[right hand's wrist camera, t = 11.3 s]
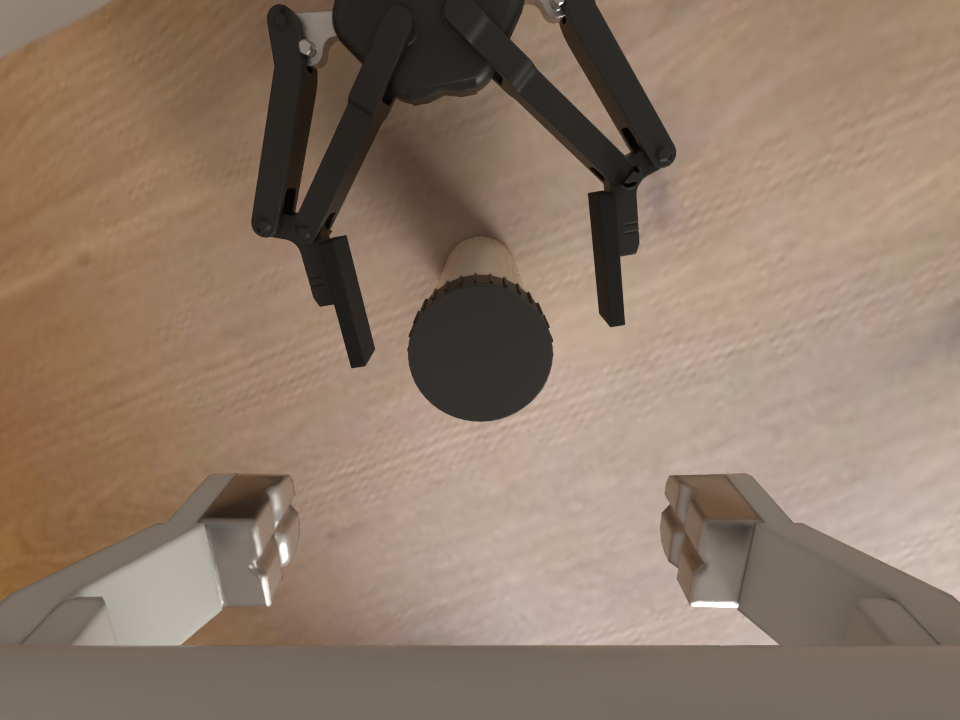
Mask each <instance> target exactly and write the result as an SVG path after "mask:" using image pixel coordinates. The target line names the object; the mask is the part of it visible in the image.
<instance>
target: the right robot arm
mask: <svg viewBox="0 0 960 720" xmlns="http://www.w3.org/2000/svg"><path fill="white" fill-rule="evenodd" d="M294 496H295V488H294V483H293V479H292V478H291V477H290V475H278V474H237V473H230V474H212V475H209V476H208V477H207V478H206V479H205V480H204V481H203V482H202V484H201V485H200V486H199V487H198V488H197V489H196V490H195V491H194V493H193V494H192V495H191V496H190V497H189V498H188V499H187V500H186V501H185V503H184V504H183V505H182V506H181V507H180V508H179V509H178V510H177V512H176V513H175V514H174V515H173V516H172V517H171V518H170V519H169V521H168V522H167V523H157V524H155V525H153V526H151V527H149V528H147V529H145V530H143V531H140V532H138V533H136V534H134V535H132V536H130V537H128V538H126V539H124V540H122V541H120V542H118V543H116V544H113V545H111V546H109V547H107V548H105V549H103V550H101V551H99V552H97V553H95V554H93V555H91V556H88V557H86V558H84V559H82V560H80V561H78V562H76V563H74V564H72V565H70V566H68V567H66V568H64V569H61V570H59V571H57V572H55V573H53V574H51V575H49V576H47V577H45V578H43V579H41V580H39V581H36V582H34V583H32V584H30V585H28V586H26V587H24V588H22V589H20V590H18V591H16V592H14V593H12V594H9V595H8V596H7V597H6V598H5V599H4V600H3V601H2V602H0V720H960V602H959V601H958V600H957V599H956V598H954V597H953V596H952V595H950V594H948V593H946V592H944V591H942V590H940V589H938V588H936V587H934V586H931V585H929V584H927V583H925V582H923V581H921V580H919V579H917V578H915V577H913V576H911V575H909V574H907V573H904V572H902V571H900V570H898V569H896V568H894V567H892V566H890V565H888V564H886V563H884V562H882V561H880V560H878V559H875V558H873V557H871V556H869V555H867V554H865V553H863V552H861V551H859V550H857V549H855V548H853V547H851V546H849V545H846V544H844V543H842V542H840V541H838V540H836V539H834V538H832V537H830V536H828V535H826V534H824V533H822V532H819V531H817V530H815V529H813V528H811V527H809V526H807V525H805V524H803V523H793V522H792V521H791V519H790V518H789V517H788V516H787V515H786V514H785V513H784V512H783V510H782V509H781V508H780V507H779V506H778V505H777V504H776V503H775V501H774V500H773V499H772V498H771V497H770V496H769V495H768V494H767V493H766V491H765V490H764V489H763V488H762V487H761V486H760V485H759V484H758V482H757V481H756V480H755V479H754V478H753V477H752V476H751V475H749V474H746V473H737V474H712V475H673V476H669V477H668V480H667V482H666V488H665V496H666V497H667V499H668V501H669V503H670V505H669V506H668V507H667V508H666V509H665V510H664V511H663V512H662V516H661V525H660V530H661V542H662V545H663V549H664V552H665V555H666V557H667V559H668V561H669V562H670V563H672V564H673V565H674V566H676V567H677V568H678V575H677V580H678V582H679V584H680V586H681V588H682V590H683V592H684V594H685V596H686V598H687V600H688V602H689V604H690V606H708V607H738V609H737V610H739V611H740V612H741V613H742V614H743V615H745V616H746V617H747V618H748V619H749V620H751V621H752V622H753V623H754V624H755V625H757V626H758V627H759V628H760V629H761V630H763V631H764V632H765V633H766V634H767V635H769V636H770V637H771V638H772V639H773V640H775V641H776V642H777V643H778V644H779V645H181V644H182V643H183V642H184V641H186V640H187V639H188V638H189V637H190V636H192V635H193V634H194V633H195V632H196V631H198V630H199V629H200V628H201V627H202V626H204V625H205V624H206V623H207V622H208V621H210V620H211V619H212V618H213V617H214V616H216V615H217V614H218V613H219V612H220V611H222V607H251V606H270V605H271V602H272V600H273V598H274V596H275V594H276V592H277V590H278V588H279V586H280V584H281V582H282V580H283V575H282V568H283V567H284V566H286V565H287V564H288V563H290V562H291V561H292V559H293V557H294V554H295V552H296V549H297V545H298V540H299V528H300V523H299V515H298V512H297V511H296V510H295V509H294V508H293V507H292V506H291V505H290V503H291V501H292V499H293V497H294Z"/></svg>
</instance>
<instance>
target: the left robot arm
mask: <svg viewBox="0 0 960 720" xmlns="http://www.w3.org/2000/svg"><path fill="white" fill-rule="evenodd" d="M527 4H531V5H534V6H536V7H537V8H538V9H539V10H540V11H541V13H542V15H543V17H544V19H545V20H546V21H548V22H550V23H558V22H559V24H560V27H561V30H562V33H563V35H564V38H565V40H566V42H567V44H568V45H569V47H570V49H571V51H572V52H573V54H574V56H575V58H576V59H577V61H578V63H579V64H580V66H581V68H582V69H583V71H584V73H585V75H586V76H587V78H588V80H589V81H590V83H591V85H592V87H593V88H594V90H595V92H596V93H597V95H598V97H599V99H600V100H601V102H602V104H603V105H604V107H605V109H606V110H607V112H608V114H609V116H610V117H611V119H612V121H613V122H614V124H615V126H616V128H617V129H618V131H619V133H620V134H621V136H622V138H623V140H624V141H625V143H626V145H627V146H628V148H629V150H630V151H631V152H630V153H629V154H627V155H625V156H624V155H623V154H622V153H621V152H620V151H619V150H618V149H617V148H616V147H615V146H614V145H613V144H612V143H611V142H610V141H609V140H608V139H607V138H606V137H605V136H604V135H603V134H602V133H601V132H600V131H599V130H598V129H597V128H596V127H595V126H594V125H593V124H592V123H591V122H590V121H589V120H588V119H587V118H586V117H585V116H584V115H583V114H582V113H581V112H580V111H579V110H578V109H577V108H576V107H575V106H574V105H573V104H572V103H571V102H570V101H569V100H568V99H567V98H566V97H565V96H564V95H563V94H562V93H561V92H560V91H559V90H557V89H556V88H555V87H554V86H553V85H552V84H551V83H550V82H549V81H548V80H547V79H546V78H545V77H544V76H543V75H542V74H541V73H540V72H539V71H538V70H537V69H536V67H535V66H534V64H533V63H532V61H531V60H530V59H529V58H528V57H527V56H526V55H525V54H524V53H523V52H522V51H521V50H520V49H519V48H518V47H517V46H516V45H515V44H514V43H513V42H512V41H511V40H510V37H511V35H512V33H513V31H514V28H515V26H516V24H517V22H518V20H519V17H520V15H521V13H522V10H523V6H524V5H527ZM267 23H268V29H269V35H270V41H271V47H272V53H273V59H274V65H275V67H274V74H273V81H272V87H271V94H270V101H269V107H268V114H267V121H266V127H265V134H264V141H263V147H262V154H261V161H260V167H259V174H258V181H257V187H256V194H255V201H254V207H253V214H252V221H251V222H252V228H253V230H254V232H255V233H256V234H257V235H259V236H261V237H275V238H280V239H286V240H289V241H291V242H293V243H294V244H296V245H297V247H298V248H299V250H300V252H301V255H302V259H303V262H304V266H305V269H306V273H307V276H308V279H309V283H310V286H311V291H312V294H313V298H314V299H315V301H316V302H317V303H318V305H319V306H320V307H321V306H327V305H333V304H334V306H335V309H336V313H337V317H338V320H339V324H340V328H341V332H342V335H343V339H344V343H345V346H346V350H347V354H348V357H349V361H350V365H351V368H357V367H363V366H366V364H367V362H368V361H369V359H370V357H371V356H372V354H373V352H374V350H375V347H374V343H373V339H372V335H371V331H370V327H369V323H368V319H367V315H366V311H365V307H364V303H363V299H362V295H361V291H360V287H359V283H358V279H357V275H356V271H355V267H354V263H353V259H352V255H351V251H350V247H349V243H348V239H347V235H345V236H339V237H333V238H331V239H330V237H329V235H330V234H331V232H332V231H331V230H330V229H331V227H332V225H333V223H334V221H335V219H336V217H337V215H338V213H339V211H340V209H341V206H342V204H343V202H344V200H345V198H346V196H347V194H348V192H349V190H350V188H351V186H352V184H353V182H354V180H355V177H356V175H357V173H358V171H359V169H360V167H361V165H362V163H363V161H364V159H365V157H366V155H367V153H368V151H369V149H370V146H371V144H372V142H373V140H374V138H375V136H376V134H377V132H378V130H379V128H380V126H381V124H382V122H383V121H384V120H385V119H386V117H387V116H388V114H389V112H390V110H391V108H392V105H393V103H394V101H395V99H396V98H397V99H399V100H400V101H403V102H405V103H410V104H413V105H414V106H416V105H421V104H426V103H430V102H432V101H434V100H436V99H438V98H440V97H442V96H444V95H449V96H458V97H464V96H469V95H474V94H477V92H478V91H479V90H481V89H483V88H484V87H485V86H486V85H487V84H488V83H489V82H490V80H491V79H493V80H494V81H495V82H496V83H497V84H498V85H499V86H500V87H501V88H502V89H503V90H504V91H505V92H506V93H507V94H509V95H510V96H511V97H513V98H514V99H515V100H517V101H518V102H519V103H520V104H521V105H522V106H523V107H524V108H525V109H526V110H527V111H528V112H529V113H530V114H531V115H532V116H533V117H534V118H535V119H536V120H538V121H539V122H540V123H541V124H542V125H543V126H544V127H545V128H546V129H547V130H548V131H549V132H550V133H551V134H552V135H553V136H554V137H555V138H556V139H557V140H558V141H559V142H561V143H562V144H563V145H564V146H565V147H566V148H567V149H568V150H569V151H570V152H571V153H572V154H573V155H574V156H575V157H576V158H577V159H578V160H579V161H580V162H581V163H583V164H584V165H585V166H586V167H587V168H588V169H589V170H590V171H591V172H592V173H593V174H594V175H595V176H596V177H597V178H598V179H599V180H600V181H601V182H602V183H603V184H604V191H597V192H592V193H588V199H589V209H590V220H591V231H592V242H593V253H594V263H595V274H596V285H597V296H598V306H599V314H600V315H601V316H602V318H603V319H604V320H605V321H606V322H607V324H608V325H609V326H610V327H615V326H621V325H625V317H624V304H623V291H622V278H621V265H620V256H626V255H632V254H636V252H637V249H638V246H639V232H638V230H639V229H638V213H637V197H636V192H637V187H638V185H639V184H640V182H641V181H642V180H643V179H644V178H645V177H646V176H648V175H650V174H652V173H654V172H655V171H657V170H659V169H661V168H665V167H667V166H669V165H670V164H671V163H672V162H673V161H674V159H675V157H676V149H675V146H674V144H673V142H672V140H671V138H670V137H669V135H668V133H667V131H666V129H665V128H664V126H663V124H662V122H661V120H660V119H659V117H658V115H657V113H656V111H655V110H654V108H653V106H652V104H651V102H650V101H649V99H648V97H647V95H646V94H645V92H644V90H643V88H642V86H641V85H640V83H639V81H638V79H637V77H636V76H635V74H634V72H633V70H632V68H631V67H630V65H629V63H628V61H627V59H626V58H625V56H624V54H623V52H622V50H621V49H620V47H619V45H618V43H617V41H616V40H615V38H614V36H613V34H612V32H611V31H610V29H609V27H608V25H607V23H606V22H605V20H604V18H603V16H602V14H601V13H600V11H599V9H598V7H597V5H596V4H595V0H335V3H334V7H333V10H331V11H315V12H299V13H296V12H293V11H292V10H291V9H289V8H288V7H286V6H285V5H280V4H278V5H275V6H273V7H272V8H271V9H270V10H269V12H268V15H267ZM338 41H340V42H341V43H342V44H343V45H344V46H345V47H346V48H347V49H348V50H349V51H350V52H351V53H352V54H353V55H354V56H355V57H356V58H357V59H358V60H359V61H360V62H361V63H362V67H361V70H360V72H359V74H358V76H357V78H356V81H355V83H354V85H353V87H352V89H351V92H350V95H349V99H348V105H347V108H346V110H345V112H344V114H343V116H342V118H341V121H340V123H339V125H338V127H337V129H336V132H335V134H334V136H333V138H332V140H331V142H330V145H329V147H328V149H327V151H326V153H325V156H324V158H323V160H322V162H321V164H320V167H319V169H318V171H317V173H316V175H315V177H314V180H313V182H312V184H311V186H310V188H309V191H308V193H307V195H306V197H305V199H304V201H303V204H302V206H301V208H300V210H299V212H298V213H297V212H295V210H296V205H297V199H298V193H299V188H300V182H301V176H302V171H303V165H304V159H305V154H306V148H307V142H308V137H309V131H310V125H311V120H312V114H313V108H314V103H315V97H316V90H317V69H320V68H322V67H324V66H325V65H326V63H327V61H328V55H329V50H330V47H331V46H332V45H333V44H334V43H335V42H338Z"/></svg>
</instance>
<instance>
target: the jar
mask: <svg viewBox="0 0 960 720" xmlns="http://www.w3.org/2000/svg"><path fill="white" fill-rule="evenodd" d="M474 273H477V275H479V274H480V275H489V273H492V276H497V277H500V278H503V277H506V279H507V280H508V281H511V282H513V283H514V284H516V283H518V284H519V285H520V287H521V288H522V289H523V290H524V291H525V288H524V286H523V283H522V280H521V277H520V274H519V272H518V269H517V266H516V263H515V261H514V258H513V256H512V254H511V253H510V251H509V250H508V249H507V247H506V246H505V245H503V244H502V243H501V242H499V241H498V240H495V239H493V238H490V237H485V236H476V237H471V238H468V239H465V240H464V241H462V242H460V243H459V244H457V245H456V246H455V247H454V248H453V250H452V251H451V252H450V254H449V256H448V258H447V261H446V263H445V266H444V269H443V272H442V274H441V277H440V280H439V283H438V285H437V288H436V289H437V290H438V289H439V288H440V287H442V286H443V285H445V283H446V281H448V280H449V282H450V281H452V280H455V279H458V278H459V276H460V275H462V276H463V277H464V276H469V275H474ZM525 292H526V291H525Z"/></svg>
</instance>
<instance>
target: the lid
mask: <svg viewBox="0 0 960 720" xmlns="http://www.w3.org/2000/svg"><path fill="white" fill-rule="evenodd" d="M413 323H414V324H413V327H412V329H411V331H410V334H409V337H410V340H409V346H408V349H407V351H408V360H409V367H410V370H411V374H412V377H413V379H414V381H415V383H416V385H417V387H418V388H419V390H420V391H421V393H422V394H423V395H424V396H425V398H426V399H427V400H428V401H429V402H430V403H431V404H433V405H434V406H435V407H437V408H438V409H439V410H441V411H443V412H445V413H446V414H448V415H451V416H453V417H456V418H459V419H463V420H468V421H479V422H483V421H493V420H498V419H502V418H505V417H508V416H510V415H512V414H515V413H517V412H518V411H520V410H521V409H523V408H524V407H526V406H527V405H528V404H529V403H531V402H532V401H533V400H534V399H535V398H536V397H537V395H538V394H539V393H540V391H541V390H542V389H543V387H544V385H545V383H546V381H547V379H548V376H549V374H550V370H551V366H552V359H553V346H552V342H553V339H552V336H551V334H550V332H549V329H548V328H550V327H549V324H548V322H547V320H546V317H545V315H543V312H542V310H541V307H540V305H539V303H538V302H537V303H535V301H534V300H533V299H532V296H531V294H530V292H525V291H524V290H523V289H522V288H521V287H520V285H519V284H518V283H516V284H514V283H513V282H511V281H508V280H507V279H506V277H503V278H500V277H497V276H492V273H489V275H480V274H479V275H477V273H474V275H469V276H464V277H463V276H462V275H460V276H459V278H458V279H455V280H452V281H450V282H449V280H448V281H446V283H445V285H443V286H442V287H440V288H439V289H438V290H437V289H435V290H434V292H433V294H432V295H431V296H430V298H429V299H425V300H424V303H423V305H422V308H421V311H419V310H418V312H417V315H416V317H415V319H414V322H413Z"/></svg>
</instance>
